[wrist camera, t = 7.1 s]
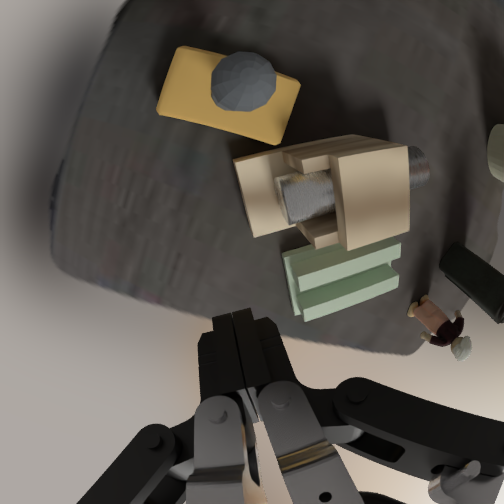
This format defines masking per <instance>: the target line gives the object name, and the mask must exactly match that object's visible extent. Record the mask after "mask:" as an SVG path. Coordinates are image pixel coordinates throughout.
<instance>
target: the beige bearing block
mask: <svg viewBox="0 0 504 504" xmlns="http://www.w3.org/2000/svg"><path fill="white" fill-rule="evenodd" d="M232 160H233V163H234V167H235V171H236V175H237V179H238V183H239V187H240V191H241V195H242V198H243V202H244V206H245V210H246V214H247V218H248V222H249V226H250V230H251V232H252V234H253V236H254V238H255V237H258V236H262V235H265V234H269V233H272V232H276V231H279V230H283V229H286V228H290V227H293V226H297V228H298V229H299V230H300V231H301V232H302V234H303V235H304V236H305V237H306V238H307V240H308V241H309V242H310V243H311V244H312V246H313V247H314V248H315V249H316V250H317V249H320V248H323V247H326V246H330V245H333V244H336V243H340V244H341V245H342V246H343V247H344V248H345V249H346V250H347V251H350V250H353V249H356V248H359V247H362V246H365V245H368V244H371V243H374V242H377V241H380V240H383V239H386V238H389V237H392V236H395V235H398V234H401V233H404V232H407V231H409V224H410V185H409V162H408V148H407V146H406V145H402V144H397V143H393V142H389V141H384V140H380V139H375V138H370V137H365V136H360V135H354V134H351V135H344V136H338V137H332V138H327V139H321V140H316V141H311V142H306V143H301V144H296V145H291V146H286V147H282V148H277V149H273V150H268V151H264V152H260V153H256V154H252V155H248V156H244V157H240V158H236V159H232ZM329 168H331V175H332V183H333V190H334V198H335V207H336V211H335V212H332V213H329V214H325V215H322V216H319V217H315V218H312V219H309V220H306V221H302V222H299V223H296V224H292V225H288V224H287V222H286V221H285V219H284V217H283V214H282V212H281V209H280V206H279V203H278V200H277V196H276V192H275V186H274V179H275V178H276V177H279V176H283V175H286V174H290V173H294V172H298V171H300V172H302V173H303V174H307V173H311V172H316V171H320V170H324V169H329Z"/></svg>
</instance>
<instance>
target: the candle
mask: <svg viewBox="0 0 504 504" xmlns="http://www.w3.org/2000/svg"><path fill="white" fill-rule="evenodd" d="M439 267H440V270H442V271H443V272H444V273H445V275H446V276H445V277H446V278H448V279H449V280H450V281H451V282H452V283H454V284H455V285H456V286H457V287H458V288H459V289H460V290H462V291H463V292H464V293H465V294H466V295H467V296H468V297H470V298H471V299H472V300H473V301H474V302H475V303H476V304H477V305H478V306H480V307H481V308H482V309H483V310H484V311H485V312H486V313H487V314H488V315H489V316H490V317H491V318H492V319H494V321H495V322H496V323H497V324H499V323H504V275H503V274H501V273H500V272H499V271H497V270H496V269H495V268H493V267H492V266H491V265H489V264H488V263H487V262H485V261H484V260H483V259H481V258H480V257H478V256H477V255H476V254H474V253H473V252H471V251H470V250H468V249H467V248H466V247H464V246H463V245H461V244H460V243H458V242H456V243H454V244H453V245H452V247H451V248H450V249H449V251H448V252H447V253H446V255H445V256H444V258H443V259H442V260H441V262H440V266H439Z"/></svg>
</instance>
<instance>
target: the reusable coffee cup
mask: <svg viewBox="0 0 504 504" xmlns="http://www.w3.org/2000/svg"><path fill="white" fill-rule="evenodd" d="M487 160H488V166H489V169H490V171H491V173H492V175H493V176H494V177H496V178H497V179H499V180H501V181H502V182H504V124H497V125H495V126H494V127H493V129H492V130H491V133H490V136H489V139H488V146H487Z"/></svg>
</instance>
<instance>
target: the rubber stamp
mask: <svg viewBox="0 0 504 504" xmlns="http://www.w3.org/2000/svg"><path fill="white" fill-rule="evenodd" d="M300 86H301V84H300V83H299V82H298V80H296V79H294V78H291V77H289V76H286V75H284V74H281V73H278V72H276V71H274V69H273V67H272V65H271V64H270V62H269V61H268V60H266V59H265V58H263V57H262V56H260V55H258V54H257V53H253V52H239V51H238V52H236V53H234V54H231V55H229V56H226V55H222V54H218V53H214V52H210V51H206V50H202V49H198V48H193V47H188V46H181V47H178V48H177V50H176V52H175V55H174V57H173V60H172V63H171V65H170V68H169V71H168V74H167V77H166V80H165V82H164V85H163V88H162V92H161V95H160V98H159V101H158V104H157V108H156V110H157V112H158V113H159V115H164V116H169V117H173V118H178V119H182V120H187V121H191V122H195V123H199V124H203V125H207V126H211V127H215V128H218V129H222V130H226V131H229V132H233V133H236V134H240V135H243V136H246V137H250V138H253V139H256V140H259V141H262V142H266V143H269V144H272V145H277V144H279V143H281V140H282V137H283V134H284V131H285V128H286V126H287V123H288V120H289V117H290V114H291V111H292V109H293V106H294V103H295V100H296V97H297V94H298V92H299V89H300Z"/></svg>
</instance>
